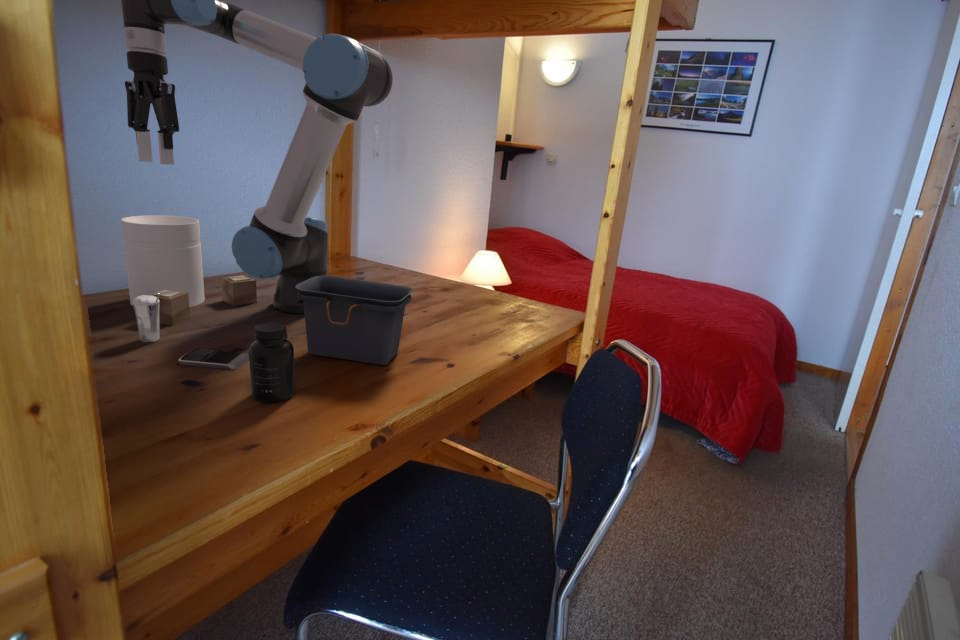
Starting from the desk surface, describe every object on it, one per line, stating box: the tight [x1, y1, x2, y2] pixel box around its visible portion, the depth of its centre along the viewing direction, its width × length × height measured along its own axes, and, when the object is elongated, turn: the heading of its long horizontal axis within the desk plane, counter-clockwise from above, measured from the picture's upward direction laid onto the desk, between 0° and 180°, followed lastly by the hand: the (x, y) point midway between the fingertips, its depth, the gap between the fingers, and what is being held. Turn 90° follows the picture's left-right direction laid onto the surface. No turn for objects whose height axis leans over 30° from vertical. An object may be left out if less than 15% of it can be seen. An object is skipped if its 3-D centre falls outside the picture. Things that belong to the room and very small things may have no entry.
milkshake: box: [132, 294, 161, 343], centre depth 106 cm, size 4×5×10 cm
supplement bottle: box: [248, 322, 296, 404], centre depth 87 cm, size 7×7×12 cm
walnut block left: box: [149, 290, 191, 326], centre depth 118 cm, size 6×6×6 cm
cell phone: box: [177, 348, 249, 370], centre depth 100 cm, size 6×11×1 cm, turn 88°
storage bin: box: [295, 274, 414, 366], centre depth 106 cm, size 21×16×14 cm
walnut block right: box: [221, 274, 258, 307], centre depth 136 cm, size 6×6×6 cm
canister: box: [120, 214, 206, 308], centre depth 129 cm, size 16×16×20 cm
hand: (156, 162), depth 123 cm, fingers open, 7 cm apart
